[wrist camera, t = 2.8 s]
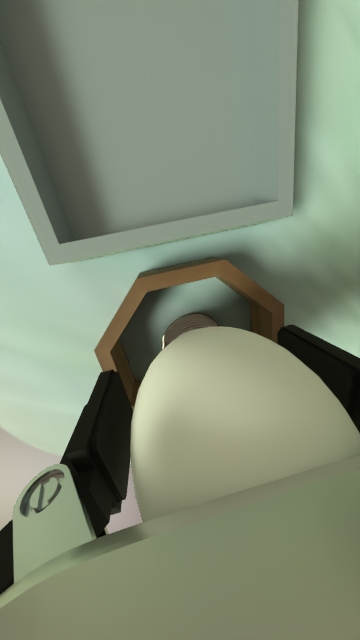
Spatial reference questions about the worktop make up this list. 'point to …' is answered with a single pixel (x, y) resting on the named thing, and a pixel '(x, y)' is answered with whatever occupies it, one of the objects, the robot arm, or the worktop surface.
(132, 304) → the holder ring
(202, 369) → the light bulb
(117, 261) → the worktop surface
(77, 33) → the tray
